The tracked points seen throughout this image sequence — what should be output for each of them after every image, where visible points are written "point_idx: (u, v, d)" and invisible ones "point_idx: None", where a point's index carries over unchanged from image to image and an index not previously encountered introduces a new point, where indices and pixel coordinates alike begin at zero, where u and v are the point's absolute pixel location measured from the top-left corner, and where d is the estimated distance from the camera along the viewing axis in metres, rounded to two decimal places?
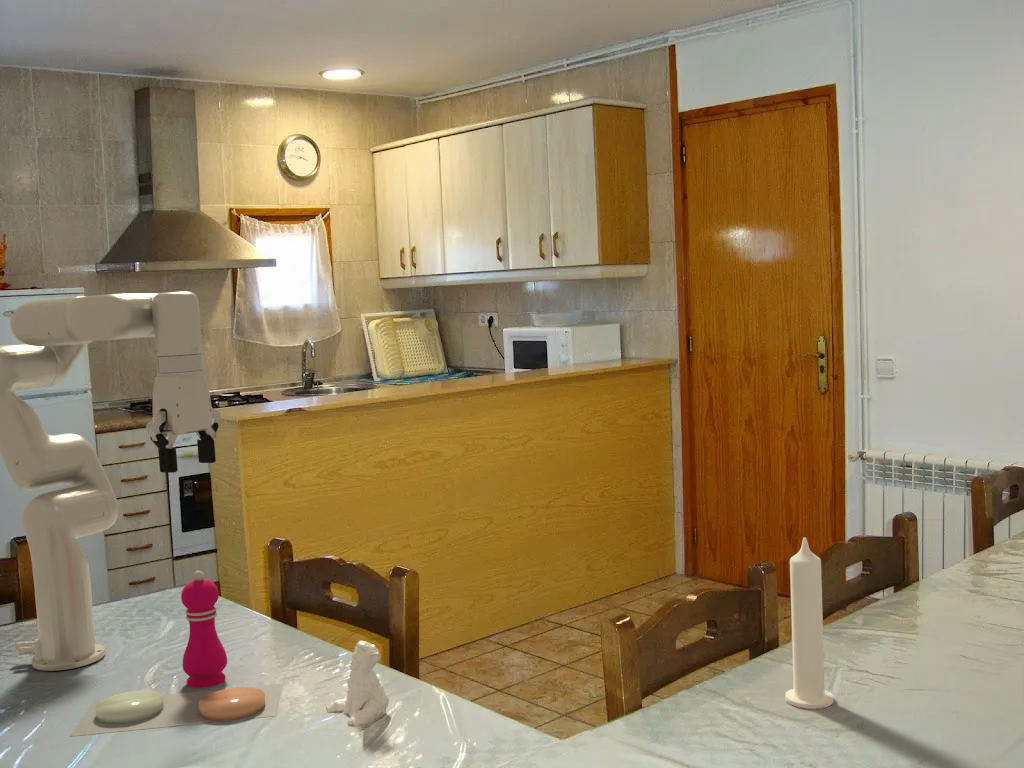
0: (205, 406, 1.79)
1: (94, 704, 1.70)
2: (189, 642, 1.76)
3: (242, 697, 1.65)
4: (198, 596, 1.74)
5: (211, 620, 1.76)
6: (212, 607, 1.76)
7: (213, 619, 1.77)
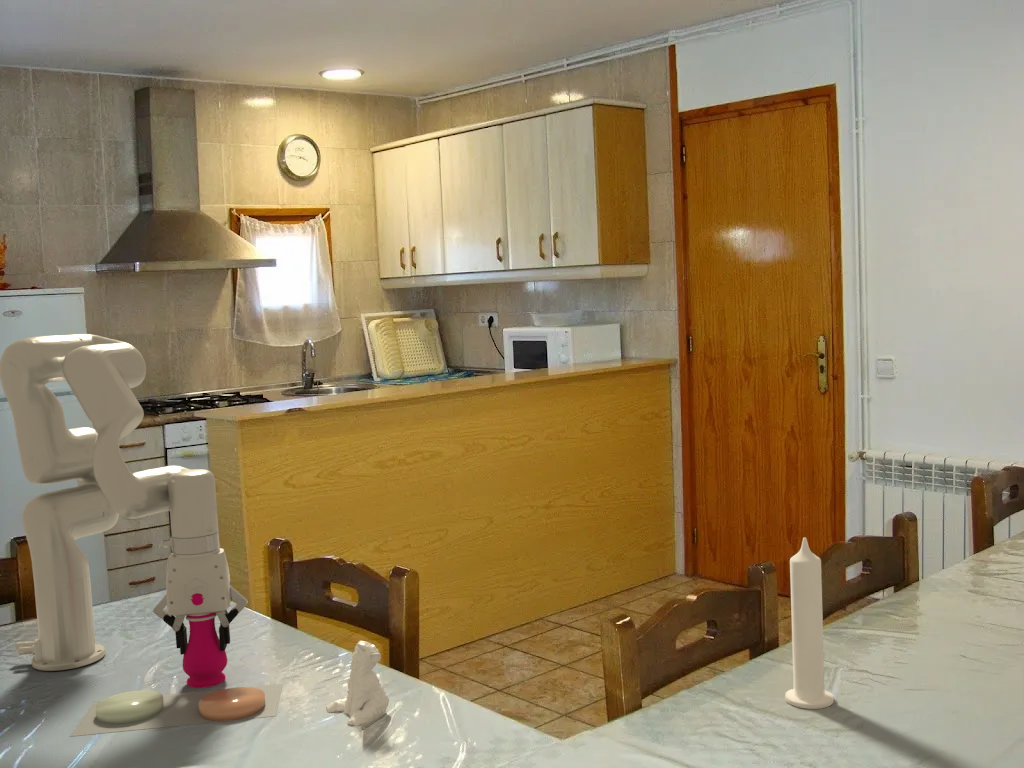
0: None
1: (94, 704, 1.70)
2: (189, 642, 1.76)
3: (242, 697, 1.65)
4: (198, 596, 1.74)
5: (211, 620, 1.76)
6: None
7: (213, 619, 1.77)
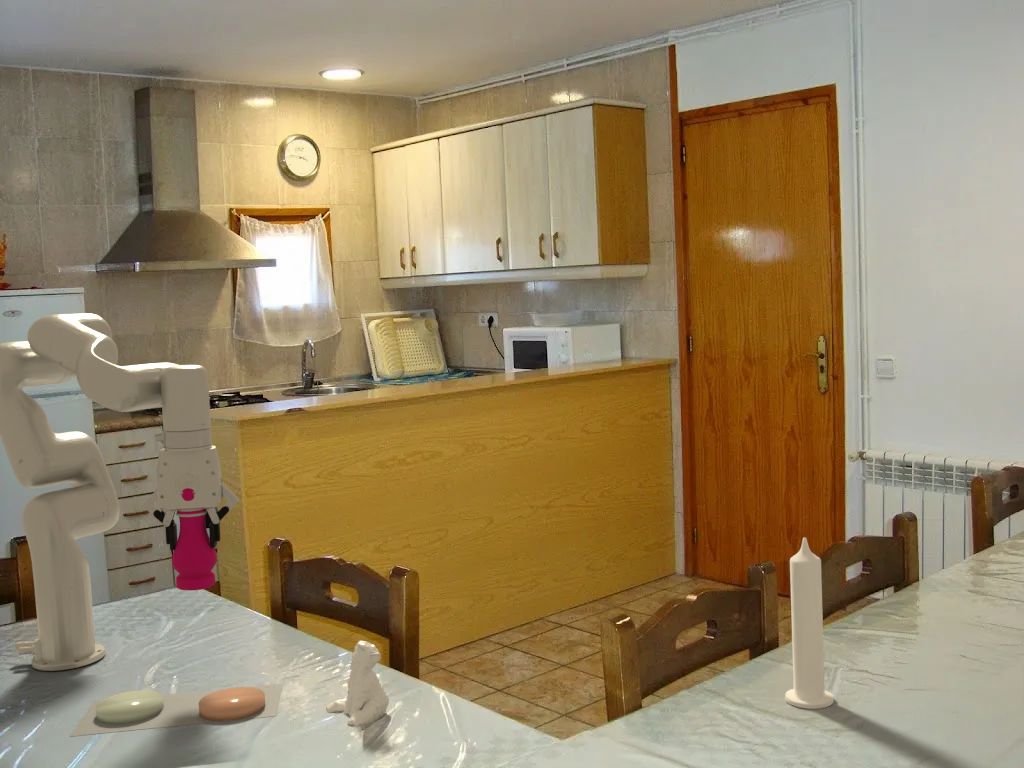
0: None
1: (94, 704, 1.70)
2: (179, 538, 1.75)
3: (242, 697, 1.65)
4: (189, 491, 1.73)
5: (201, 517, 1.75)
6: None
7: (204, 516, 1.76)
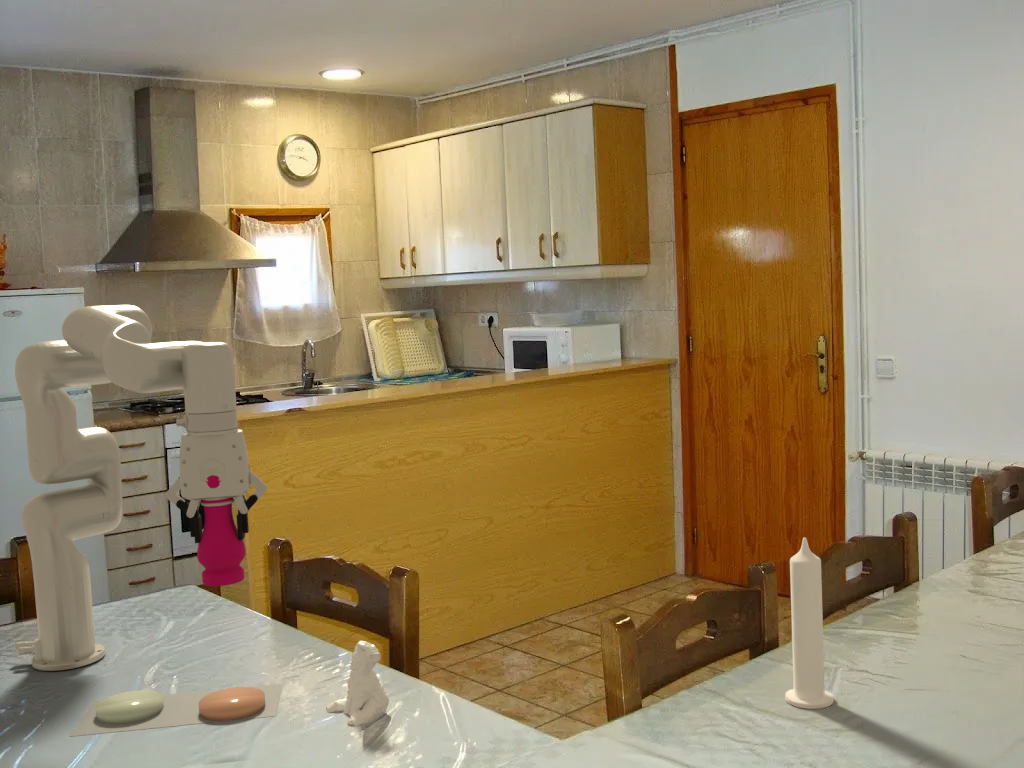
0: None
1: (94, 704, 1.70)
2: (204, 530, 1.61)
3: (242, 697, 1.65)
4: (214, 478, 1.59)
5: (228, 506, 1.61)
6: None
7: (230, 505, 1.62)
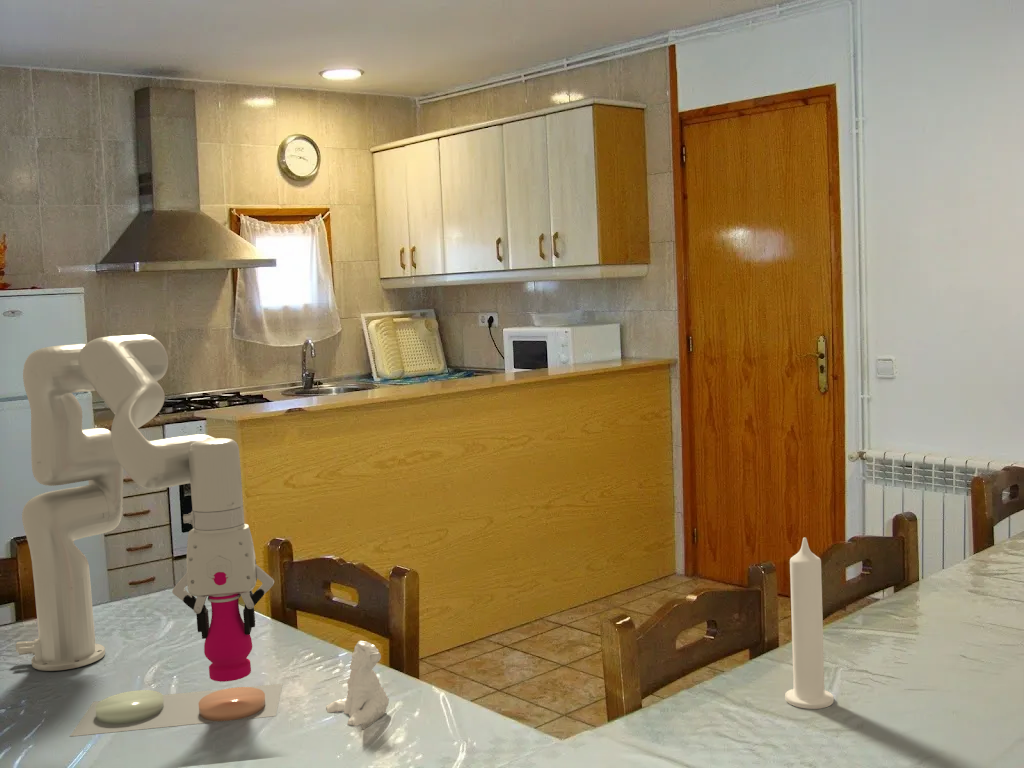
0: None
1: (94, 704, 1.70)
2: (211, 625, 1.62)
3: (242, 697, 1.65)
4: (221, 575, 1.60)
5: (235, 601, 1.63)
6: None
7: (237, 600, 1.63)
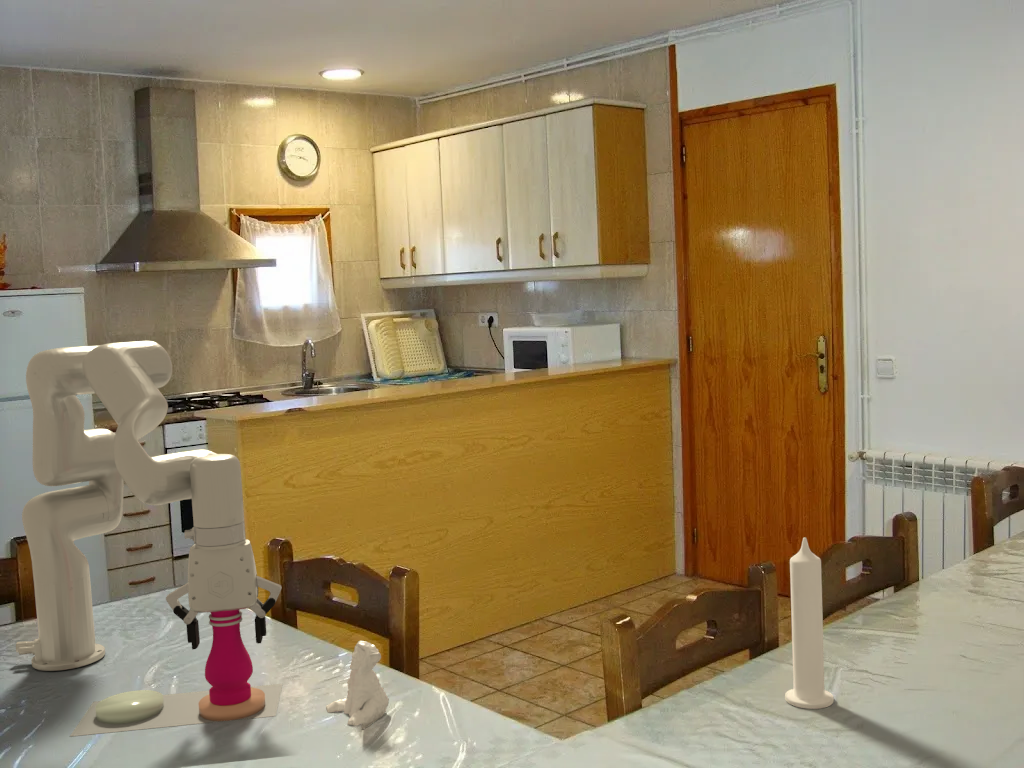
0: None
1: (94, 704, 1.70)
2: (212, 649, 1.63)
3: None
4: None
5: (236, 625, 1.63)
6: (237, 611, 1.63)
7: (238, 624, 1.64)
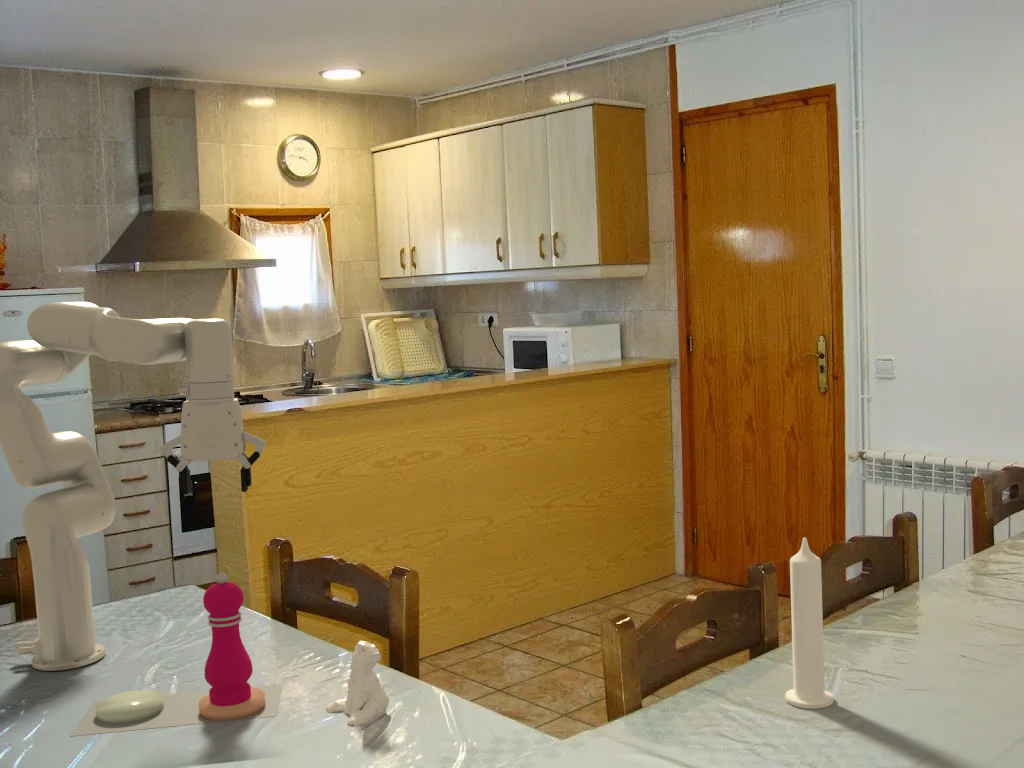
0: None
1: (94, 704, 1.70)
2: (212, 650, 1.63)
3: None
4: (222, 600, 1.61)
5: (235, 626, 1.63)
6: (236, 612, 1.63)
7: (237, 625, 1.64)
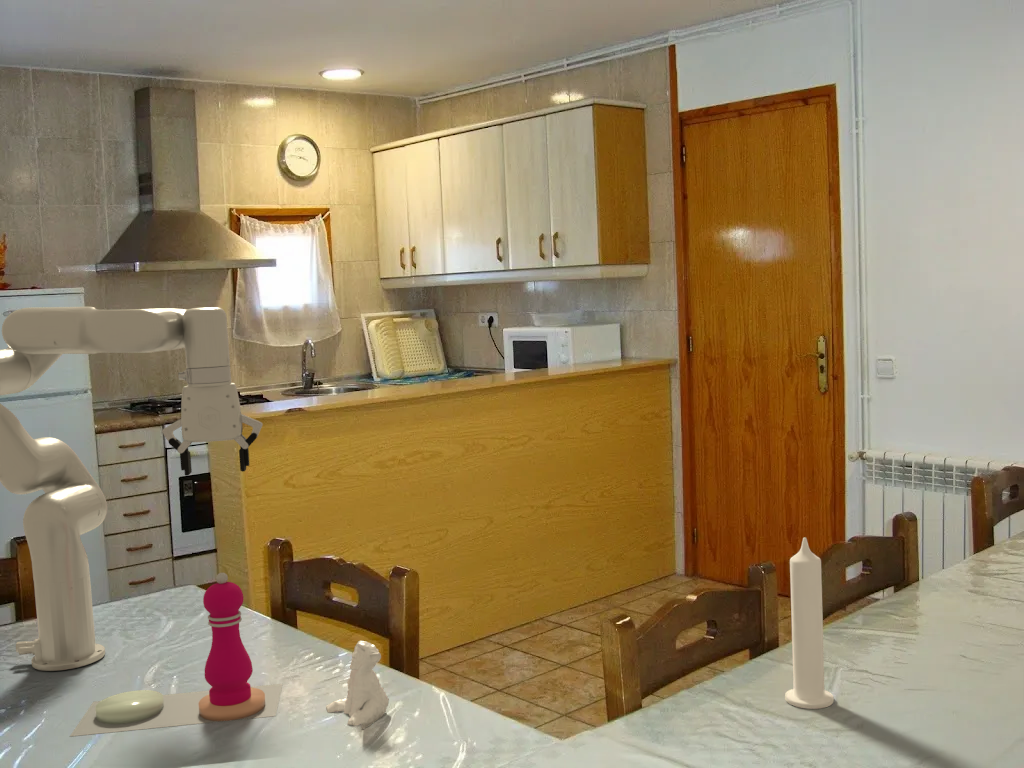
0: None
1: (94, 704, 1.70)
2: (212, 650, 1.63)
3: None
4: (222, 600, 1.61)
5: (235, 626, 1.63)
6: (236, 612, 1.63)
7: (237, 625, 1.64)
